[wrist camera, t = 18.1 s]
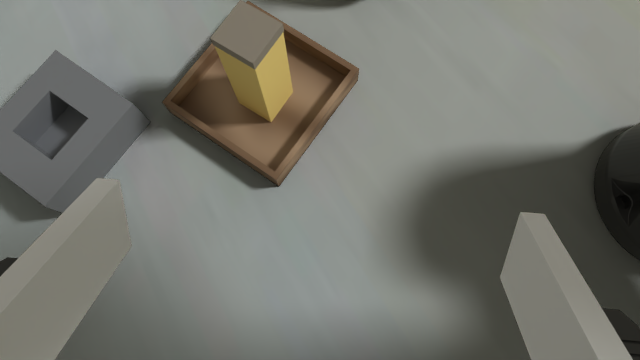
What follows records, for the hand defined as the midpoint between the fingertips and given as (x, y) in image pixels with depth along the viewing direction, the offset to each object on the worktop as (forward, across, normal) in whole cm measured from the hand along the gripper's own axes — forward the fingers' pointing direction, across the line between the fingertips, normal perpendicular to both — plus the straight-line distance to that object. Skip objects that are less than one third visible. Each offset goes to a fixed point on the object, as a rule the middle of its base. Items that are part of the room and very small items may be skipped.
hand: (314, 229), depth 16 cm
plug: (+33, -7, -8) cm, 35 cm away
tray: (+34, -8, -8) cm, 36 cm away
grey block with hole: (+29, -26, -13) cm, 41 cm away
